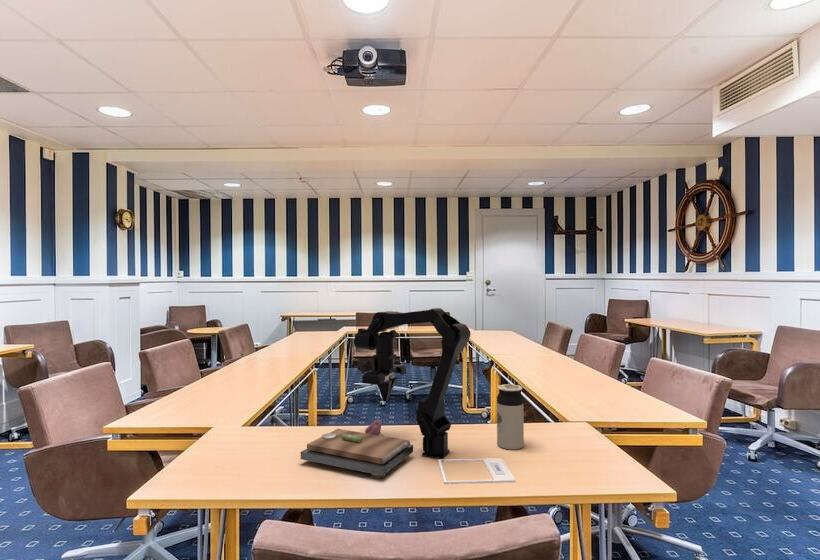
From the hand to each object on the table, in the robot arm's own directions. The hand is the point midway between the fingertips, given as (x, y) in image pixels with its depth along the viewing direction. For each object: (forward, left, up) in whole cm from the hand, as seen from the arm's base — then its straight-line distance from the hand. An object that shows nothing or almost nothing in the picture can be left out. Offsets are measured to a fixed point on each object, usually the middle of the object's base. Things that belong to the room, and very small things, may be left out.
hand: (385, 401), depth 144 cm
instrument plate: (0, +16, -9) cm, 18 cm away
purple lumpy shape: (+6, -2, -13) cm, 15 cm away
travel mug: (-36, -14, -13) cm, 41 cm away
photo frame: (-32, +9, -14) cm, 36 cm away
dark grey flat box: (0, +16, -13) cm, 21 cm away
